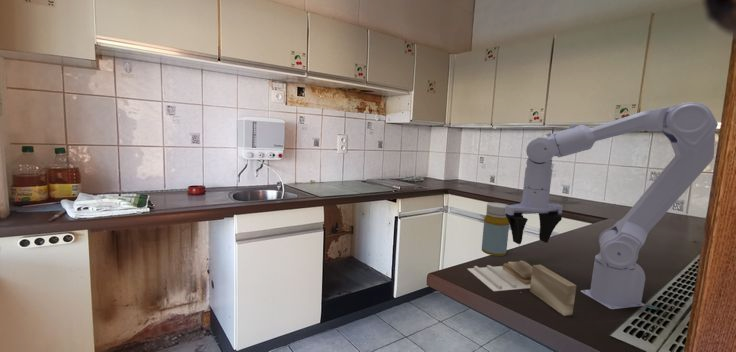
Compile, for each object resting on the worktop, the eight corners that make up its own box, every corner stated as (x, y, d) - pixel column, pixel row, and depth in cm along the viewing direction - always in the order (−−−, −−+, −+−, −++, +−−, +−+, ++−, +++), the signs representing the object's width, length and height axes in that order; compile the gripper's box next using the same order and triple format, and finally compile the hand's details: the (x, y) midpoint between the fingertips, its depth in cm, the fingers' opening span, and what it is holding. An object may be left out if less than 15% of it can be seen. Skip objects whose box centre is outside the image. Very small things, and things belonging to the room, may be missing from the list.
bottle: (499, 249, 104) (504, 202, 102) (510, 258, 97) (515, 208, 95) (477, 248, 104) (482, 201, 101) (486, 257, 97) (491, 207, 95)
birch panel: (537, 291, 77) (540, 264, 76) (572, 315, 67) (576, 285, 66) (529, 291, 77) (532, 265, 76) (563, 316, 67) (568, 286, 66)
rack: (522, 266, 91) (523, 260, 91) (556, 287, 80) (557, 280, 80) (466, 270, 88) (467, 264, 87) (493, 293, 76) (494, 286, 76)
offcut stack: (519, 267, 89) (520, 258, 89) (544, 283, 81) (545, 273, 80) (501, 268, 88) (502, 260, 88) (524, 284, 80) (525, 275, 79)
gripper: (549, 184, 85) (543, 235, 88) (499, 184, 82) (494, 237, 84) (572, 190, 79) (564, 244, 81) (518, 190, 75) (512, 247, 78)
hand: (530, 241), depth 82 cm, fingers open, 7 cm apart
